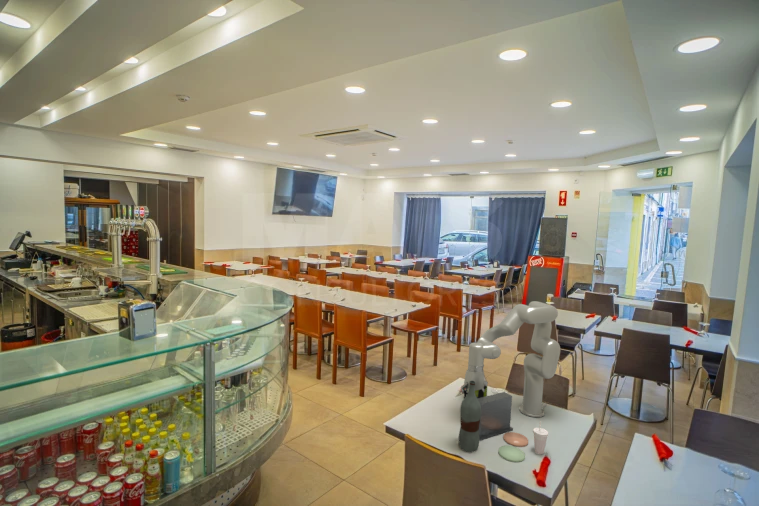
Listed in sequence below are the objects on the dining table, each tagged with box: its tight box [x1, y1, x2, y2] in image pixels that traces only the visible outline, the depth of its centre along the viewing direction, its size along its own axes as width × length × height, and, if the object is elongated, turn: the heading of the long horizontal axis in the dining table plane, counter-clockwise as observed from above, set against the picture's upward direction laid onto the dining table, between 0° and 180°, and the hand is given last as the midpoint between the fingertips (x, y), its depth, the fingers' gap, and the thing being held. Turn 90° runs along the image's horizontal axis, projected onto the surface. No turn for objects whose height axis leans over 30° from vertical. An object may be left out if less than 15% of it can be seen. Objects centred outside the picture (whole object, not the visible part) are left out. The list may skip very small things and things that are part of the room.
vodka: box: [458, 381, 481, 453], centre depth 177 cm, size 9×9×30 cm
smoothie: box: [532, 421, 549, 455], centre depth 176 cm, size 6×6×14 cm
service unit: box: [477, 391, 514, 442], centre depth 192 cm, size 22×7×17 cm, turn 120°
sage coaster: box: [498, 445, 526, 463], centre depth 174 cm, size 11×11×1 cm
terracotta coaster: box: [502, 431, 529, 448], centre depth 186 cm, size 11×11×1 cm
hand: (473, 400), depth 203 cm, fingers open, 9 cm apart
